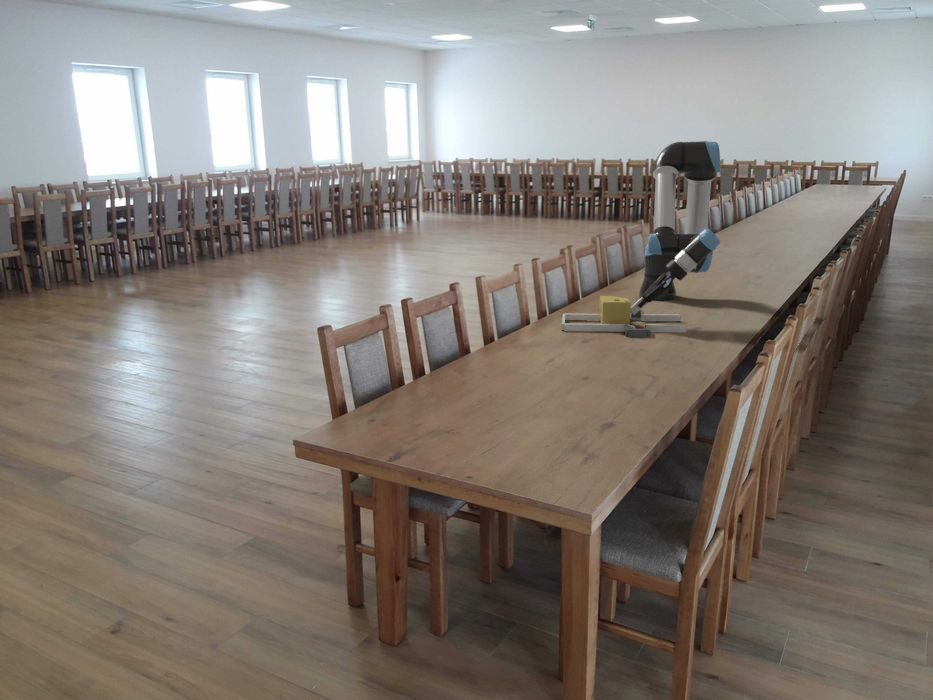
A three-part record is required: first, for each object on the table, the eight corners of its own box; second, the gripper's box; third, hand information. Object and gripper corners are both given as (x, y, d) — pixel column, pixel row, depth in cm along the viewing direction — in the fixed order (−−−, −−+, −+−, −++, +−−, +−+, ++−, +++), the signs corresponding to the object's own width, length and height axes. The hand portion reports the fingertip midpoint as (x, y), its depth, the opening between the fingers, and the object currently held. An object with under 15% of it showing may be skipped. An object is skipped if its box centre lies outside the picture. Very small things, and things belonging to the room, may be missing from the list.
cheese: (627, 321, 278) (628, 295, 276) (630, 329, 268) (631, 301, 265) (598, 321, 280) (599, 295, 277) (600, 329, 269) (601, 302, 266)
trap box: (562, 315, 290) (563, 309, 289) (677, 316, 284) (678, 310, 283) (561, 335, 262) (561, 328, 262) (688, 337, 256) (689, 330, 255)
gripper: (691, 276, 260) (640, 323, 267) (685, 269, 272) (637, 314, 279) (675, 261, 259) (625, 309, 266) (671, 255, 272) (623, 301, 279)
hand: (631, 312), depth 273 cm, fingers closed
